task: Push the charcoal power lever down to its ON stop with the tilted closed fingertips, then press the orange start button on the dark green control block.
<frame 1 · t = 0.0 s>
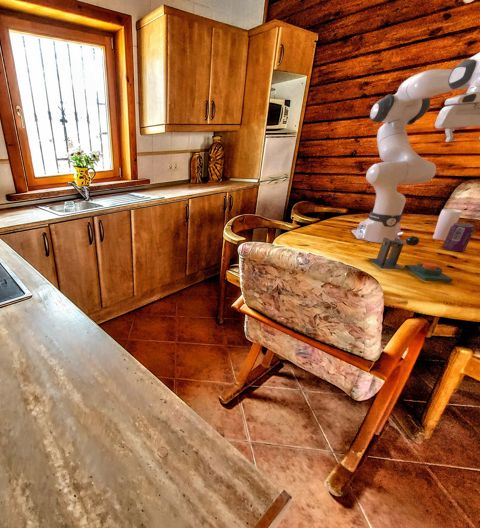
hand: (465, 140, 99), 48 cm above the table, tool pointing down, fingers open, 8 cm apart
start button: (429, 266, 106), point 4 cm above the table, slide at 0.1 cm
power bracket: (384, 265, 118), on the table
power lever: (402, 242, 108), point 12 cm above the table, hinge at 25.0°
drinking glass: (439, 239, 142), on the table
purple box: (452, 249, 129), on the table
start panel: (425, 276, 107), on the table
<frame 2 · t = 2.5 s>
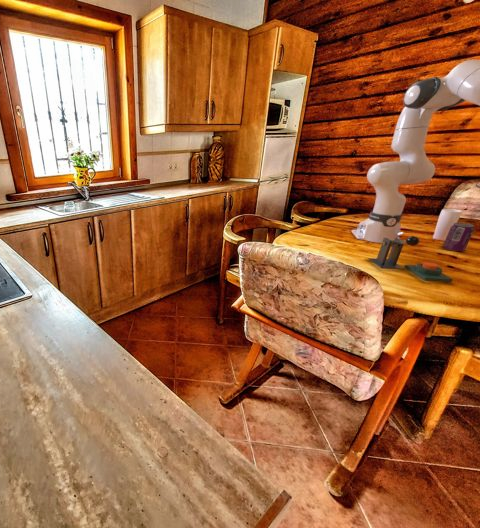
hand: (478, 186, 92), 34 cm above the table, tool tilted 35°, fingers open, 8 cm apart
nothing on the table moved.
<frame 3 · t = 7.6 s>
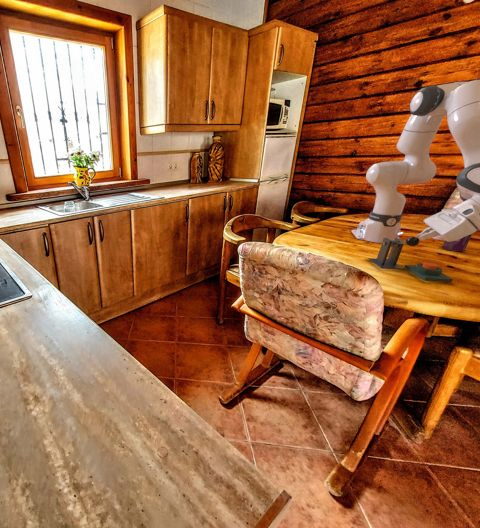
hand: (418, 238, 102), 16 cm above the table, tool tilted 45°, fingers closed, pressing on power lever
power lever: (402, 242, 108), point 12 cm above the table, hinge at 24.0°, touching gripper
everything else where it was.
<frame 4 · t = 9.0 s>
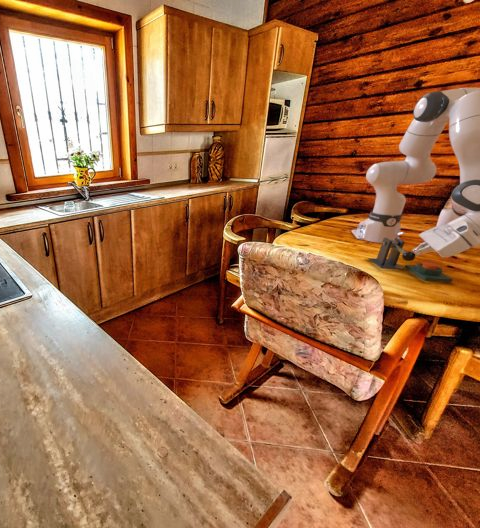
hand: (414, 253, 103), 10 cm above the table, tool tilted 45°, fingers closed
power lever: (400, 249, 109), point 9 cm above the table, hinge at -5.8°, touching gripper
everything else where it was.
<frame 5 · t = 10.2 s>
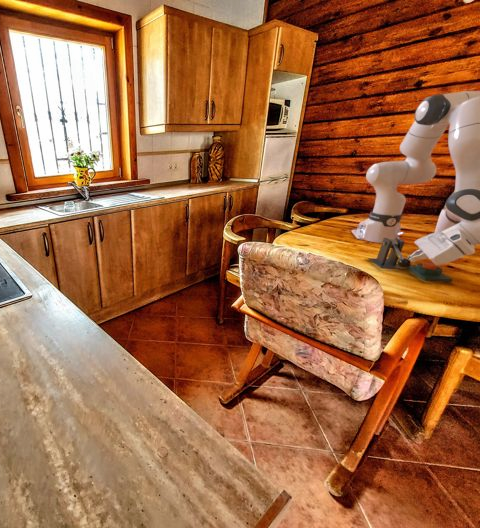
hand: (409, 259, 106), 7 cm above the table, tool tilted 45°, fingers closed
power lever: (398, 253, 110), point 8 cm above the table, hinge at -23.8°, touching gripper
everything else where it was.
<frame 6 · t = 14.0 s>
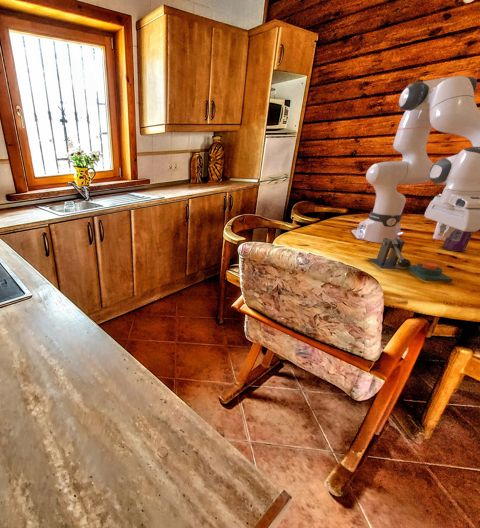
hand: (442, 236, 101), 16 cm above the table, tool pointing down, fingers closed
power lever: (398, 253, 110), point 8 cm above the table, hinge at -23.8°
everything else where it was.
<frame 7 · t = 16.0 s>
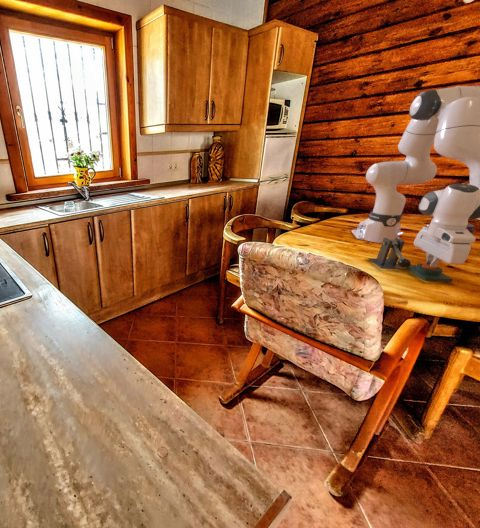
hand: (430, 265, 105), 5 cm above the table, tool pointing down, fingers closed, pressing on start button
start button: (429, 267, 106), point 4 cm above the table, slide at -0.6 cm, touching gripper
everything else where it was.
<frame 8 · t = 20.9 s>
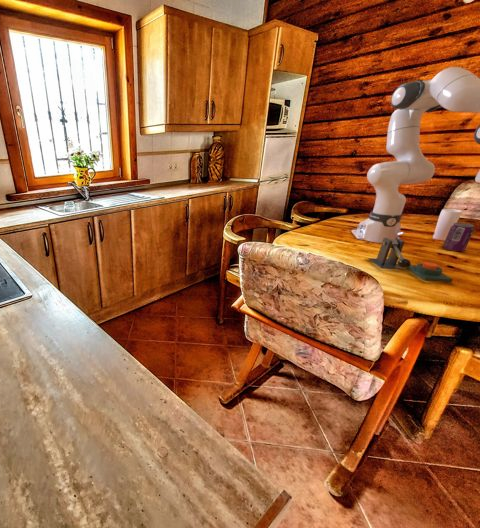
start button: (429, 266, 106), point 4 cm above the table, slide at 0.1 cm
everything else where it was.
at the end: power lever at -24° (first picture: +25°); start button pushed in 1.1 cm at the most during the clip, back to where it started at the end; start button slide at 0.1 cm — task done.
